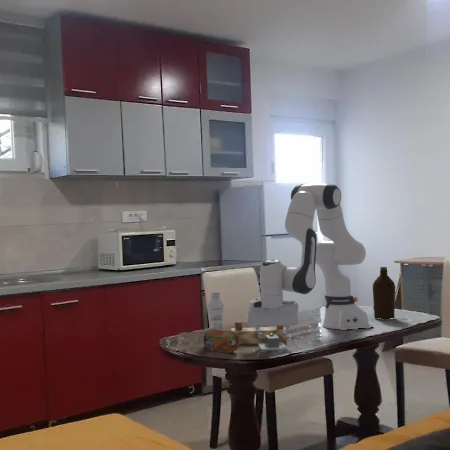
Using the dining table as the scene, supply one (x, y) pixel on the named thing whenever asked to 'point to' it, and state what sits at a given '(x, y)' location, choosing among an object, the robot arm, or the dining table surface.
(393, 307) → the olive oil
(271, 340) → the lever cap
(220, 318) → the plastic bottle
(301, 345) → the dining table surface
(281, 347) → the mat
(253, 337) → the body
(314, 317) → the dining table surface
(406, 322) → the dining table surface
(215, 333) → the tin
